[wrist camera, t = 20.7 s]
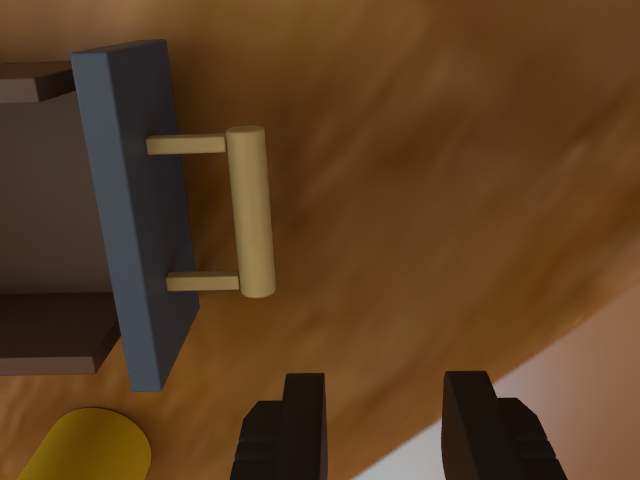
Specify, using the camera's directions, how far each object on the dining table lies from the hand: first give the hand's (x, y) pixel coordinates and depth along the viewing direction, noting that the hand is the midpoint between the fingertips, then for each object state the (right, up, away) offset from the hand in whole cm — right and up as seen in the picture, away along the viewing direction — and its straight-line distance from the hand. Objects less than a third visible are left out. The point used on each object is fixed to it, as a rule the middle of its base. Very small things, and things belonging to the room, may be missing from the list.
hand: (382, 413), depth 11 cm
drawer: (-13, +6, +16) cm, 21 cm away
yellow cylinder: (-14, -8, +22) cm, 27 cm away
